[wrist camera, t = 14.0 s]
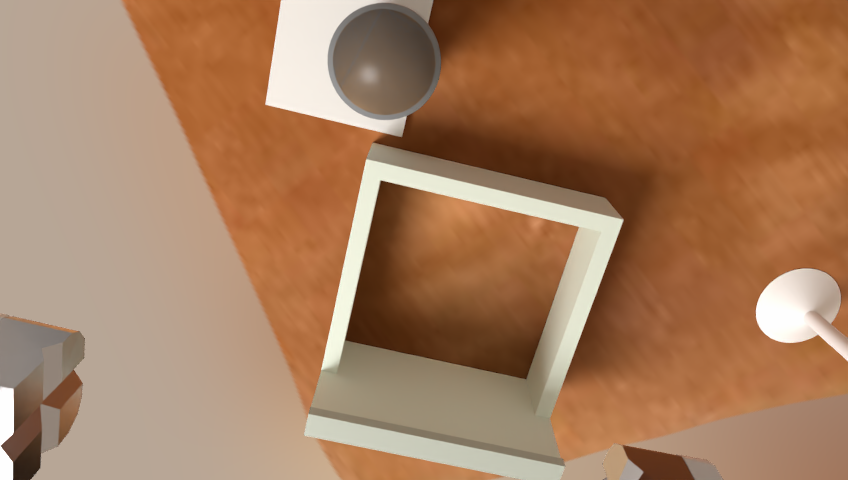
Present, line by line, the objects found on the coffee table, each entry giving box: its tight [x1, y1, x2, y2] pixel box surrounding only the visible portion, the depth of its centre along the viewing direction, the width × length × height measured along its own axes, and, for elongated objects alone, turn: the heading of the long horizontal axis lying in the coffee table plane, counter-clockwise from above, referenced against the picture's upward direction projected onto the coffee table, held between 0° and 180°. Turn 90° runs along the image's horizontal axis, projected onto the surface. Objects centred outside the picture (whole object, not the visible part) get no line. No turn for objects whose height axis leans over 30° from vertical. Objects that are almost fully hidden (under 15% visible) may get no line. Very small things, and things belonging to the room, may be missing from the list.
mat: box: [266, 0, 433, 137], centre depth 46 cm, size 10×10×1 cm
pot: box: [328, 3, 441, 120], centre depth 41 cm, size 6×6×9 cm
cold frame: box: [304, 143, 623, 480], centre depth 47 cm, size 18×18×11 cm
